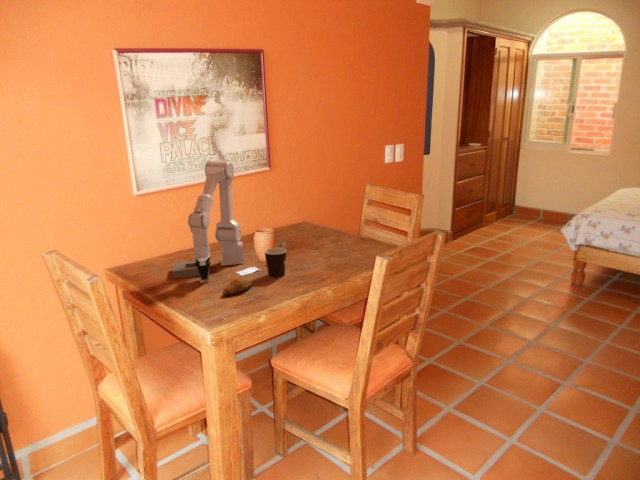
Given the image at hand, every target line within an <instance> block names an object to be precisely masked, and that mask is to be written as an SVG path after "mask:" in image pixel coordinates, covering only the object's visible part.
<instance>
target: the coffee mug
mask: <svg viewBox="0 0 640 480" xmlns="http://www.w3.org/2000/svg"><path fill="white" fill-rule="evenodd" d="M264 257H265V262H266V268H267V274H268V277H269V276H270V278H272V277H274V278H273V279H277V278H278V277H280V278H282V276H283V277H284V276H285V275H286V265H287V264H286V263H287V249H286V248H285V247H284V248H279V247H271V248H267V249H265V250H264ZM278 279H279V278H278Z"/></svg>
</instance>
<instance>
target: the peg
mask: <svg viewBox="0 0 640 480" xmlns="http://www.w3.org/2000/svg"><path fill="white" fill-rule="evenodd" d="M209 276H210V275H208V278H207V280H202V279H201V277H200V276H199V282H200V284H207V283H209V282H210V277H209Z"/></svg>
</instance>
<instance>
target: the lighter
mask: <svg viewBox="0 0 640 480" xmlns="http://www.w3.org/2000/svg"><path fill="white" fill-rule="evenodd" d="M285 246H286V243H284V242H280V243H279V247H278V248H284V249H285Z"/></svg>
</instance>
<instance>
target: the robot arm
mask: <svg viewBox="0 0 640 480" xmlns="http://www.w3.org/2000/svg"><path fill="white" fill-rule="evenodd" d="M204 174H205V182H204V185H203V191H202V194H200V195H198V197H197V201H196V203H195V207H194V209H193V212H192V213H190V214H189V216H188V217H187V218H188V219H187V224H188V227H189V228H190V232H191V234H192V241H193V242H192V243H193V251H194V254H191V258H192V259H195V260H194V261H197V262H195V265H196V267H197V268H198V270H199V273H200V276H199V278H200V277H201V279H202V280H207V278H208V269H209V270H210V266H211V252H210V241H209V229H208V228H209V226H210V223H211V211H212V206H213V203H214V199H213V198H212V197H213V194H214V193H215V190H216V187H217V186H218V188H219V189H218V191H219V208H220V211H219V213H220V221H219V222H218V223H216V225H215V232H214V236H215V240H216V241H218V244H220V254H221V256H220V257H221V259H220V263H221V264H220V265H221V266H232V265H241V264H242V265H243V264H245V262H244V260H245V254H244V247H243V246H244V245H243V241H241V239H242V230H241V225H240V223H238V221H236V220H235V219H234V214H233V213H234V212H233V210H234V209H233V192H232V191H233V190H232V181H234V178H235V177H234V176H235V174H234V165H233V163H232V162H231V161H229V160H227V161H224V160H223V161H221V160H220V161H219V160H213V161H212V160H208V161H206V163H205V165H204Z"/></svg>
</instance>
